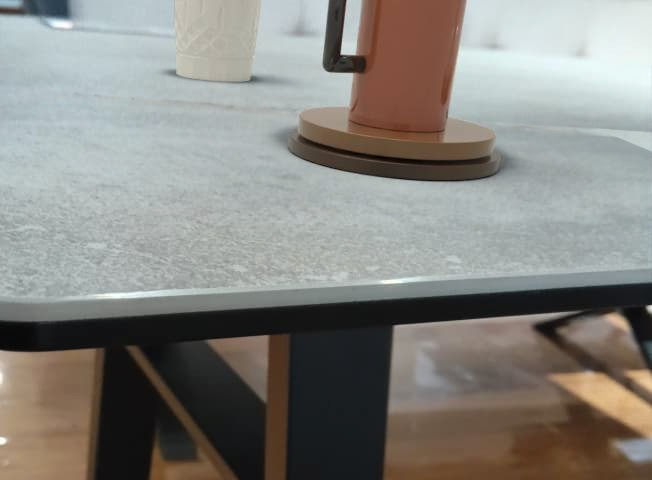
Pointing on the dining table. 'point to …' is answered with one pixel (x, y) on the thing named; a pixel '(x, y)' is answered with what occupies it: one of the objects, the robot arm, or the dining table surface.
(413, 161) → the lazy susan base
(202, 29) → the white cup
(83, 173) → the dining table surface
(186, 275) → the dining table surface
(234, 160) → the dining table surface
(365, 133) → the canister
